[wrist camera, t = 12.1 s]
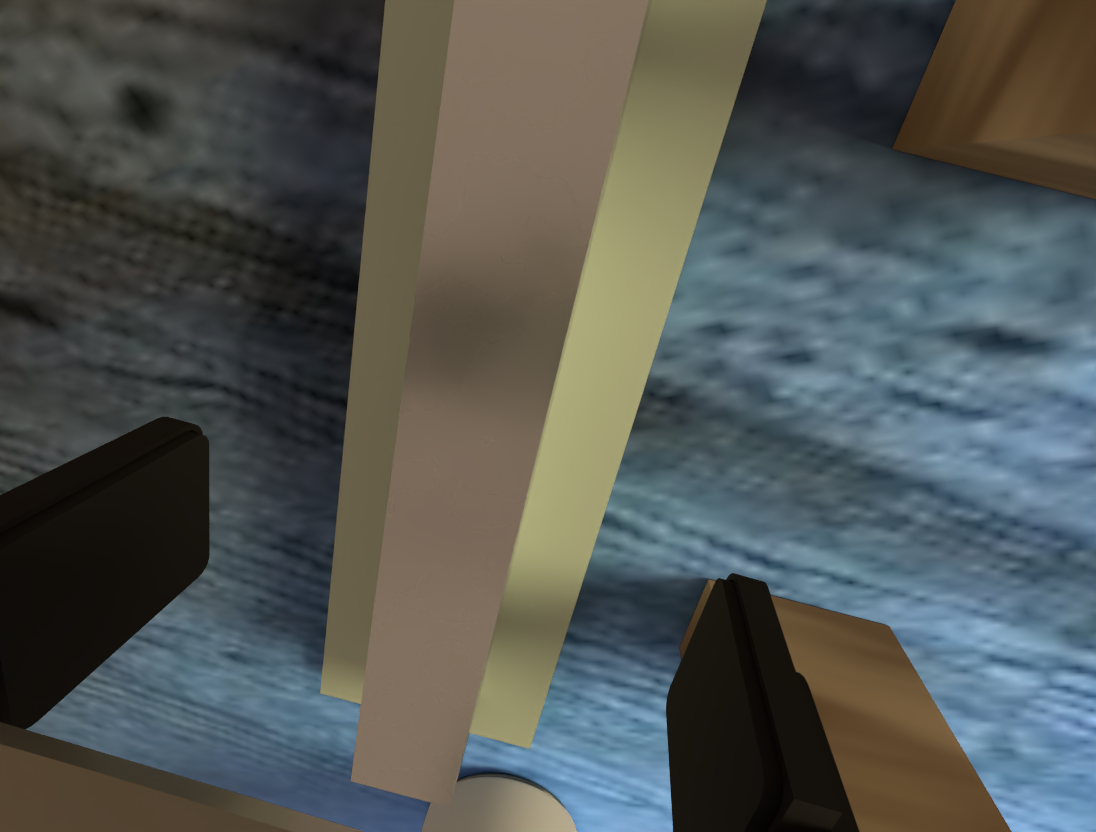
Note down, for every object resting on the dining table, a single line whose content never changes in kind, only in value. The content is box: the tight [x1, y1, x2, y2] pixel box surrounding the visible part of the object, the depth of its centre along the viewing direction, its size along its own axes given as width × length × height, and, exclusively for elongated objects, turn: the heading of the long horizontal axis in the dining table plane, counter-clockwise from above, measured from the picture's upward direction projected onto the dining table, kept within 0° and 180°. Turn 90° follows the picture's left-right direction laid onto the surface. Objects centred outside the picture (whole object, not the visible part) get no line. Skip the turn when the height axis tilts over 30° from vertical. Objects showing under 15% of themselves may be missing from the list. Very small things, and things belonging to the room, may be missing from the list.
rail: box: [351, 0, 652, 808], centre depth 14 cm, size 22×3×4 cm, turn 167°
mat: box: [320, 0, 767, 749], centre depth 17 cm, size 26×8×1 cm, turn 167°
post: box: [680, 579, 1011, 832], centre depth 15 cm, size 3×6×10 cm, turn 77°
